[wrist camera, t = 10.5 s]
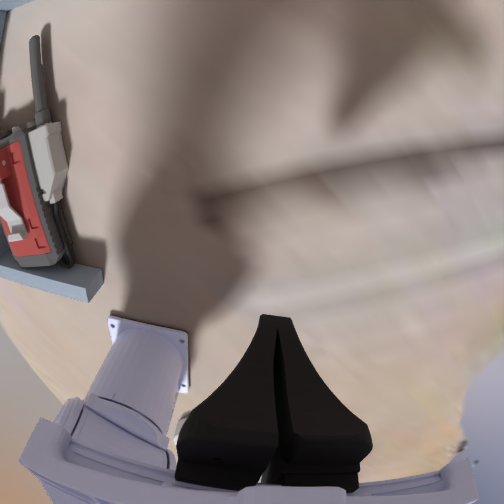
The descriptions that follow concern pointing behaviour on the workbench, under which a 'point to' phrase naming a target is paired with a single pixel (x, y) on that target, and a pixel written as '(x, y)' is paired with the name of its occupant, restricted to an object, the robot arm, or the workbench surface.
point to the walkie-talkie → (35, 182)
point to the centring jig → (56, 276)
